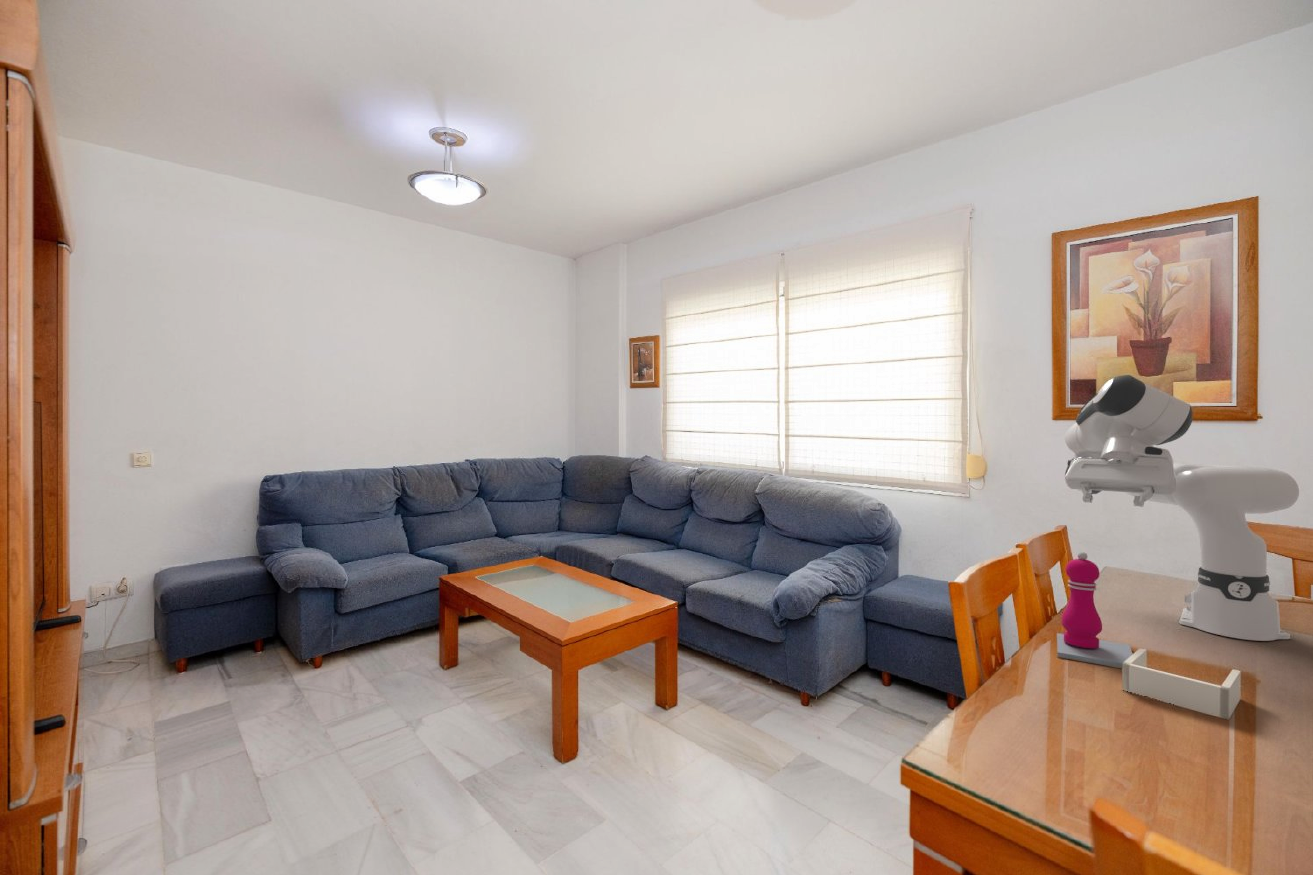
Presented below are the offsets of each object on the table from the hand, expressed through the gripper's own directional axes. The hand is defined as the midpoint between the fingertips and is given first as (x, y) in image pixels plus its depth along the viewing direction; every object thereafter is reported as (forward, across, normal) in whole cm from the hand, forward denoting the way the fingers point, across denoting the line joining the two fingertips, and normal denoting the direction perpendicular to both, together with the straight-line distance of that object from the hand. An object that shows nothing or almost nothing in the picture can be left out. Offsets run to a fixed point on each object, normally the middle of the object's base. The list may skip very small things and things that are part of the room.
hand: (1111, 502), depth 132 cm
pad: (+31, 0, +14) cm, 34 cm away
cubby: (+38, +16, +6) cm, 42 cm away
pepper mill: (+30, -2, +13) cm, 33 cm away
